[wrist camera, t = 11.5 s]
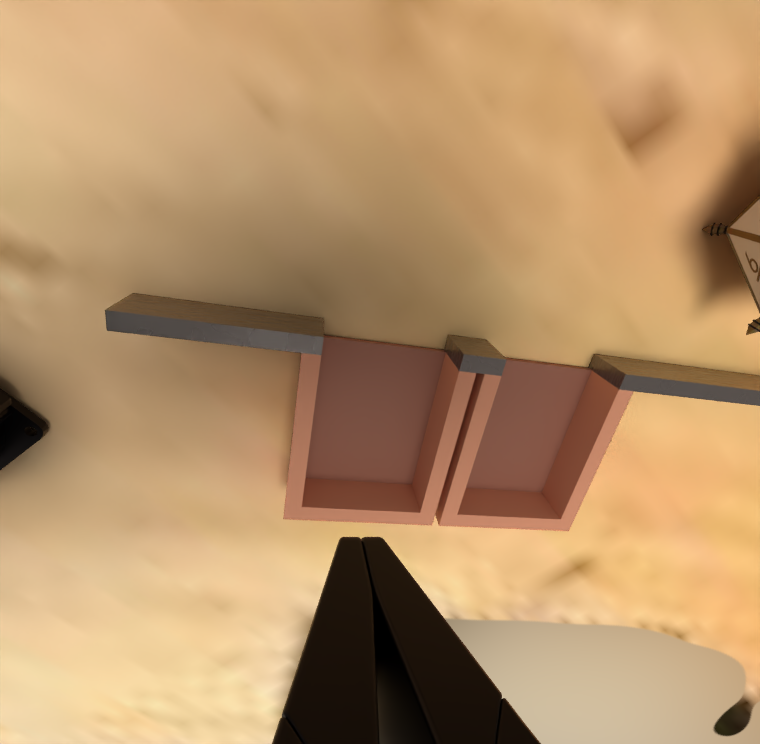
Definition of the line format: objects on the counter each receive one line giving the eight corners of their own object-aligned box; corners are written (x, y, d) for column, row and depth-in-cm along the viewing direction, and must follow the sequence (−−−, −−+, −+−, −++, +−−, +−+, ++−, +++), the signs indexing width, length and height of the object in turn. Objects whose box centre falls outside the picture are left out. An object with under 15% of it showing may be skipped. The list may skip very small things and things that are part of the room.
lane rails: (134, 311, 18) (106, 330, 16) (99, -285, 11) (44, -399, 9) (819, 396, 25) (869, 418, 23) (1044, 58, 18) (1145, 41, 16)
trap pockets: (287, 485, 23) (283, 519, 20) (303, 332, 19) (301, 353, 17) (547, 500, 26) (568, 531, 23) (601, 369, 22) (633, 391, 20)
